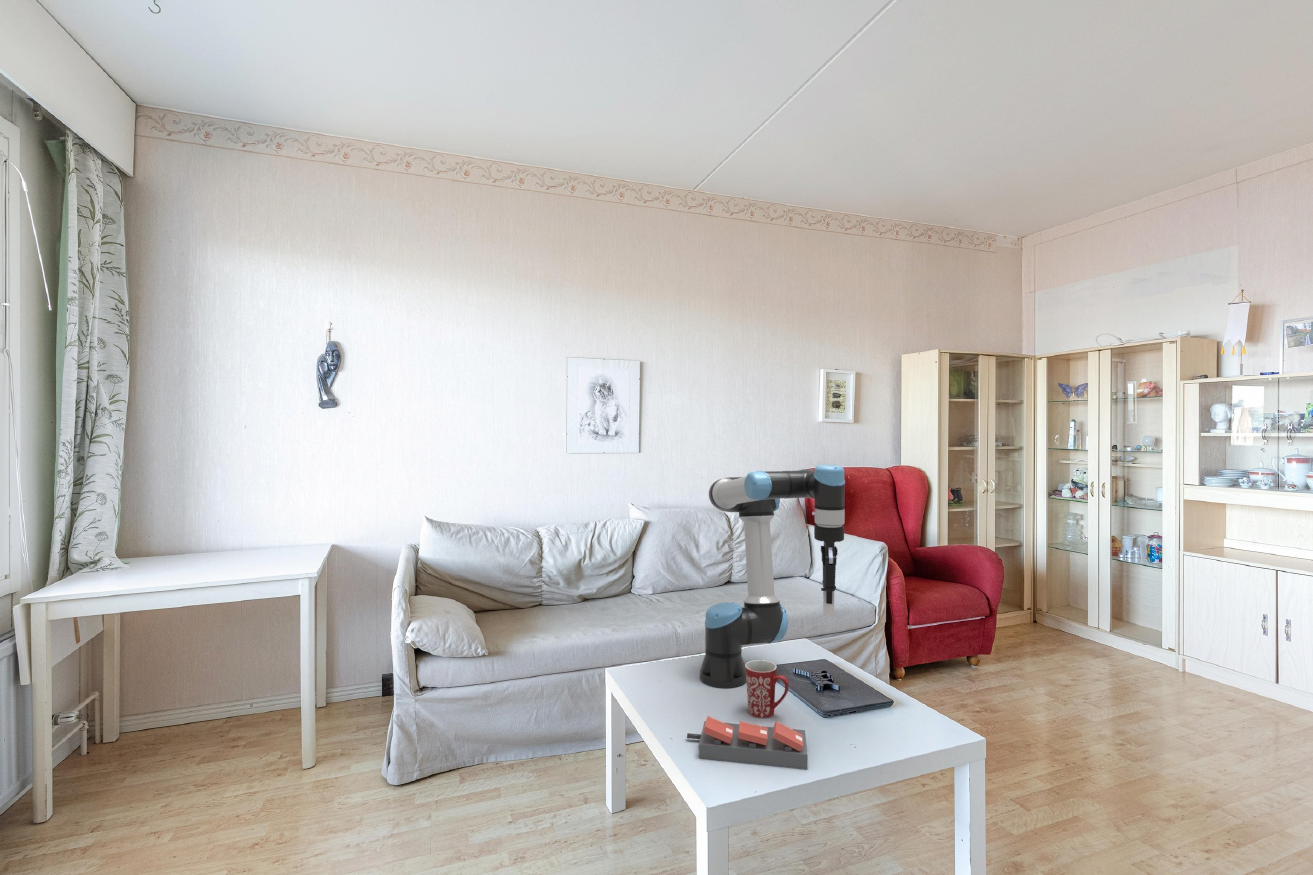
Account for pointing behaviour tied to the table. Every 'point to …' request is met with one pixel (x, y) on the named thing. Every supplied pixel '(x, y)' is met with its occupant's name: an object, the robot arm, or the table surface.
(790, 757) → the power strip
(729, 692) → the table surface
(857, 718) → the table surface
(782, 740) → the block
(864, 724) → the table surface
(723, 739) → the rocker
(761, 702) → the mug
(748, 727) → the red box
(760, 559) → the robot arm
